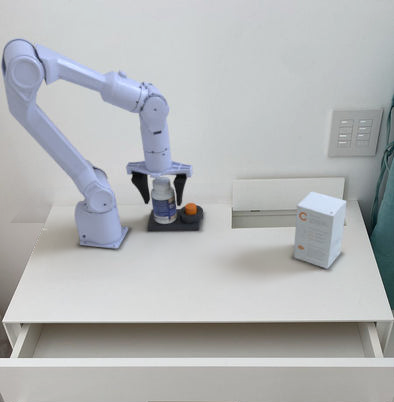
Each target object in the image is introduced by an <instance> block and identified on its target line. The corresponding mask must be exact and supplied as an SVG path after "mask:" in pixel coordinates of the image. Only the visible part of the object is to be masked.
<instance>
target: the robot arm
mask: <svg viewBox="0 0 394 402" xmlns="http://www.w3.org/2000/svg"><path fill="white" fill-rule="evenodd" d="M0 67H1V68H0V69H1V73H2V78H3V84H4V85H3V86H4V90H5V96H6V101H7V107H8V111H9V112H10V115H11V116H12V117H13V118H14V119H15V120H16V121H17V122H18V123H19V124H20V125H21V127H23V129H24V130H25V131H26V132H27V133H28V134H29V136H31V137H32V138H33V139H34V140H35V142H36V143H37V144H39V146H40V147H41V148H42V149H43V150H44V151H45V152H46V153H47V154H48V155H49V157H51V158H52V160H53V161H54V162H55V163H56V164H57V165H58V166H59V167H60V168H61V169H62V171H64V172H65V173H66V175H67V176H68V177H69V178H70V179H71V180H72V182H73V183H74V185H75V187H76V188H77V190H78V192H79V193H80V194H81V195H82V196H83V198H84V200H80V201H78V202H77V203H76V205H75V208H74V222H75V226H76V229H77V233H78V236H79V240H80V241H79V245H80V246H86V247H87V246H88V247H95V248H96V247H97V248H105V249H115V250H116V249H118V248H119V247H120V246H121V244H122V242H123V240H124V238H125V236H126V235H127V233H128V232H129V227H128V226H122V224H121V219H120V213H119V209H118V208H119V207H118V203H117V199H116V194H115V192H114V190H113V189H112V187H111V184H110V182H109V180H108V175H107V173H106V172H105V170H104V169H102V168H100V167H98V166H96V165H94V164H93V163H91V161H90V160H88V159H86V158H85V157H84V156H83V155H82V153H81V152H80V151H79V150H78V149H77V148H76V146H74V144H72V141H70V140H69V139H68V137H66V135H65V134H64V133H63V132H62V131H61V130H60V129H59V127H58V126H57V125H56V124H55V123H54V121H52V120H51V119H50V117H49V116H48V115H47V114H46V112H45V111H43V109H42V108H41V107H40V106H39V104H38V103H37V94H38V91H39V89H40V88H41V86H42V84H43V81H44V82H45V85H46V86H49V85H51V84H53V83H55V82H57V81H58V80H63V81H65V82H69V83H71V84H73V85H77V86H79V87H83V88H86V89H89V90H92V91H95V92H97V93H99V94H100V98H101V99H102V101H103V102H104V103H107V104H110V105H112V106H115V107H117V108H120V109H122V110H125V111H127V112H129V113H133V114H138V118H139V124H140V127H139V129H140V130H139V131H140V137H141V144H142V151H143V158H144V160H141V161H128V162H127V164H126V166H125V169H126V174H127V175H129V176H130V175H131V178H130V181H131V184H132V185H134V186H135V188H136V189H137V190H138V192H139V194H140V196H141V198H142V200H143V202H144V205H149V203H150V201H151V192H150V188H149V179H148V178H149V177H150V178H151V179H155V178H159V177H165V176H174V179H173V181H172V184H173V188H174V192H175V201H176V207H181V205H182V203H183V195H184V191H185V186H186V183H187V180H188V178H189V179H190V178H192V176H193V174H194V171H193V170H194V169H193V165H192V164H187V163H182V162H177V161H174V160H172V153H171V143H170V134H169V125H168V121H167V118H168V116H169V113H170V105H169V104H168V100H167V99H166V98H165V95H163V94H162V92H161V90H160V89H159V88H158V87H156V86H155V85H154V84H153V83H152V82H146V81H144V80H143V81H142V82H140V81H137V80H135V79H133V78H131V77H128V75H127V73H126V72H125V71H123V70H118V71H117V72H116V71H114V70H111V71H108V72H105V73H102V72H99V71H97V70H95V69H93V68H91V67H89V66H87V65H85V64H82V63H81V62H78V61H77V60H74V59H72V58H70V57H68V56H66V55H64V54H62V53H59V52H57V51H55V50H54V49H52V48H49V47H47V46H45V45H42V44H40V43H36V42H34V43H32V42H30V41H29V40H27V39H26V38H21V37H15V38H12V39H10V40H8V41H7V42H6V44H5V45H4V47H3V50H2V56H1V62H0ZM148 175H149V177H148Z"/></svg>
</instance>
